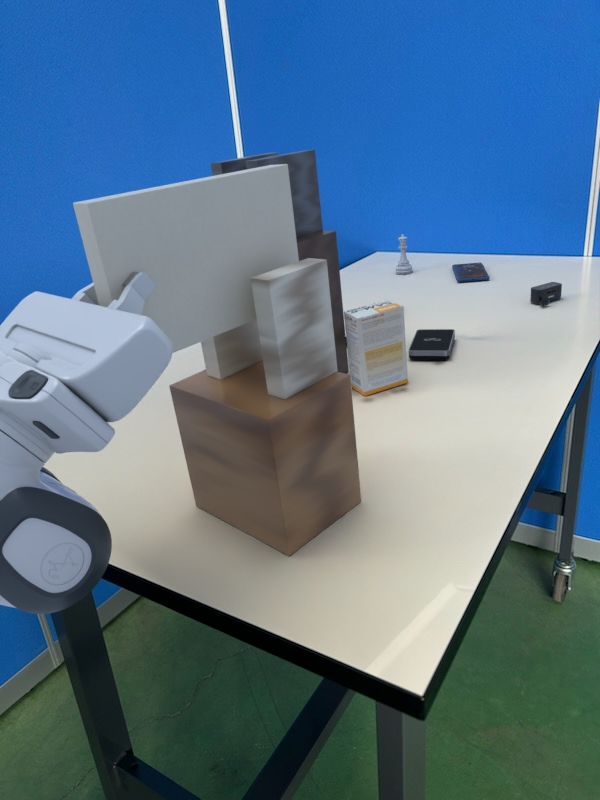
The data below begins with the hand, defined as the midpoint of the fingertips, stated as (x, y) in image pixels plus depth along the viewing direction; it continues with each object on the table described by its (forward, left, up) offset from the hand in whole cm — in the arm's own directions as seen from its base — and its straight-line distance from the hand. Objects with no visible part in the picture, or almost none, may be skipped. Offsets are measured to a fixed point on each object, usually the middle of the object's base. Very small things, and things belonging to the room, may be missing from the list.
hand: (134, 275), depth 53 cm
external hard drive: (+62, +11, -31) cm, 70 cm away
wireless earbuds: (+95, +5, -31) cm, 100 cm away
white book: (+8, 0, -8) cm, 11 cm away
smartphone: (+110, +31, -30) cm, 118 cm away
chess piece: (+106, +48, -31) cm, 120 cm away
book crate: (+12, 0, -30) cm, 33 cm away
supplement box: (+45, +10, -31) cm, 55 cm away
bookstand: (+41, +26, -30) cm, 57 cm away
